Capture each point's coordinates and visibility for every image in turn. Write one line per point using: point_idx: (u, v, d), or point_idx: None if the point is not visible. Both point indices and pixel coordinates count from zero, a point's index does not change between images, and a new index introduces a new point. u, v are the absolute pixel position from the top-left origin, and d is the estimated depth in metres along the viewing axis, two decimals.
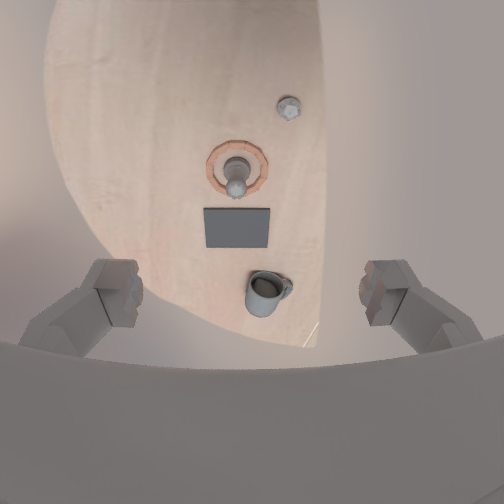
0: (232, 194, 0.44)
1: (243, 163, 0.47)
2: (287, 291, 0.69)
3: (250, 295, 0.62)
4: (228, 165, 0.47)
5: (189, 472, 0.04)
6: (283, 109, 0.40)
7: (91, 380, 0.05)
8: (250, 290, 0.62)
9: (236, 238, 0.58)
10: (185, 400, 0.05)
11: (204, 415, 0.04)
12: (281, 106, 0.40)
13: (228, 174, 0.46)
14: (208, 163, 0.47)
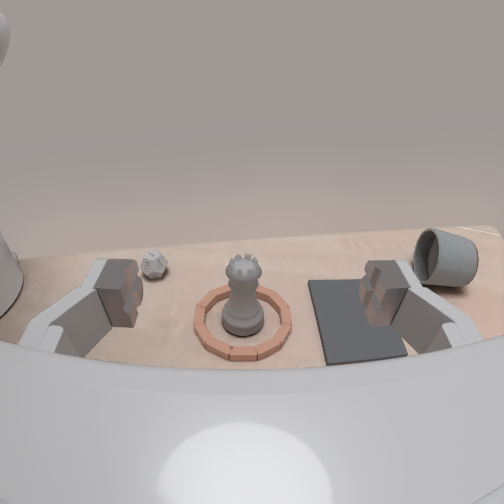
0: None
1: (226, 303, 0.31)
2: None
3: (449, 260, 0.32)
4: (228, 319, 0.29)
5: (189, 472, 0.04)
6: (149, 262, 0.35)
7: (91, 379, 0.05)
8: (441, 262, 0.32)
9: None
10: (185, 400, 0.05)
11: (204, 415, 0.04)
12: (147, 267, 0.35)
13: (238, 310, 0.28)
14: (228, 351, 0.27)
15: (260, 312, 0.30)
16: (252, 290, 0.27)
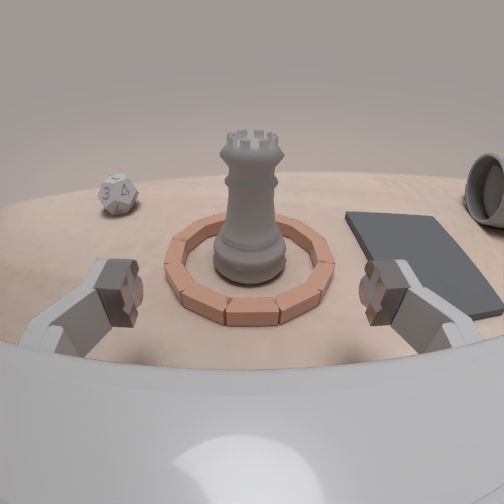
0: None
1: (221, 231, 0.19)
2: None
3: None
4: (224, 251, 0.17)
5: (189, 472, 0.04)
6: (109, 187, 0.22)
7: (91, 380, 0.05)
8: None
9: (446, 255, 0.19)
10: (185, 400, 0.05)
11: (204, 415, 0.04)
12: (106, 194, 0.22)
13: (242, 230, 0.16)
14: (223, 306, 0.14)
15: (280, 241, 0.17)
16: (268, 186, 0.15)
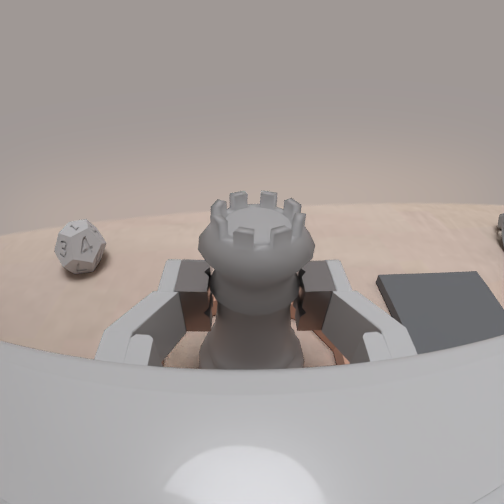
0: None
1: (209, 331, 0.12)
2: None
3: None
4: None
5: (189, 472, 0.04)
6: (66, 241, 0.16)
7: (90, 380, 0.05)
8: None
9: (496, 336, 0.13)
10: (185, 400, 0.05)
11: (204, 415, 0.04)
12: (63, 250, 0.16)
13: (240, 357, 0.10)
14: None
15: (297, 356, 0.11)
16: (284, 302, 0.08)
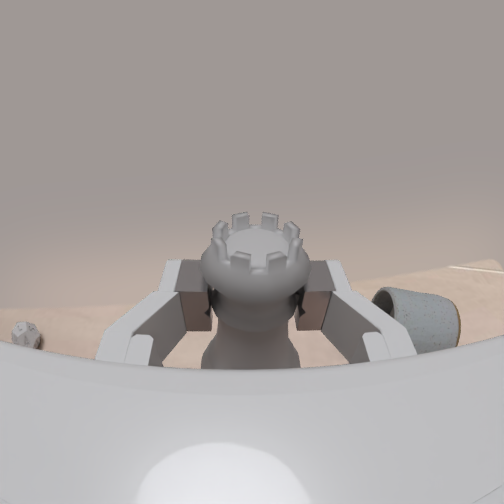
0: None
1: None
2: None
3: None
4: None
5: (189, 472, 0.04)
6: (16, 337, 0.23)
7: (90, 380, 0.05)
8: None
9: None
10: (185, 400, 0.05)
11: (204, 415, 0.04)
12: (16, 342, 0.23)
13: (237, 368, 0.10)
14: None
15: None
16: (280, 321, 0.09)
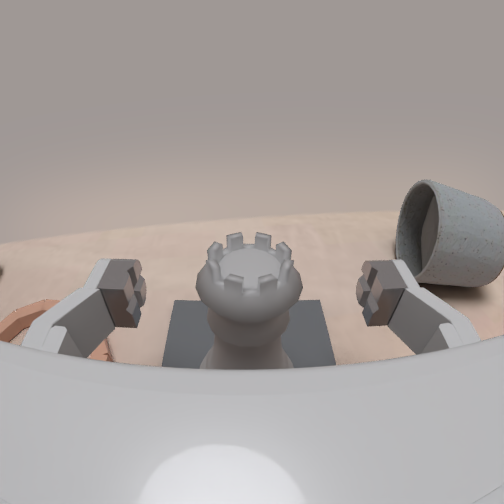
0: None
1: (210, 350, 0.13)
2: None
3: (460, 235, 0.16)
4: None
5: (189, 472, 0.04)
6: None
7: (90, 380, 0.05)
8: (445, 239, 0.16)
9: None
10: (185, 400, 0.05)
11: (204, 415, 0.04)
12: None
13: None
14: None
15: None
16: (272, 337, 0.09)
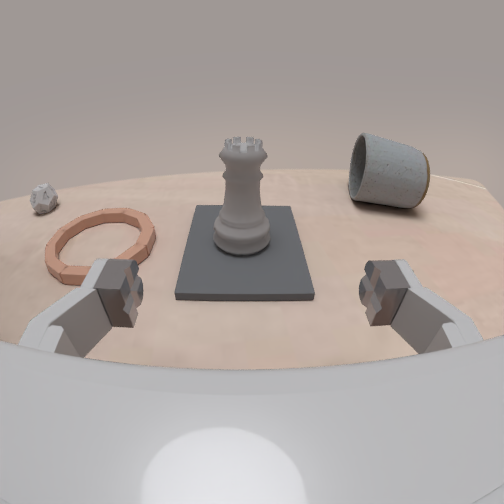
0: None
1: None
2: None
3: (382, 162, 0.27)
4: (220, 228, 0.22)
5: (189, 472, 0.04)
6: (35, 193, 0.27)
7: (91, 379, 0.05)
8: (371, 164, 0.27)
9: (270, 241, 0.24)
10: (185, 400, 0.05)
11: (204, 415, 0.04)
12: (34, 199, 0.27)
13: (234, 212, 0.21)
14: (60, 270, 0.19)
15: (265, 223, 0.22)
16: (254, 179, 0.20)
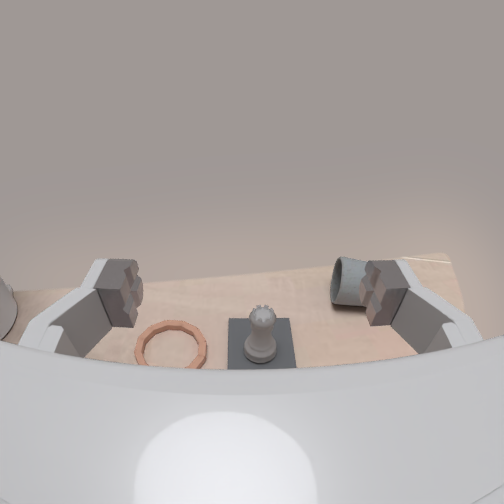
0: (268, 318, 0.35)
1: (247, 337, 0.39)
2: None
3: (351, 286, 0.43)
4: (249, 350, 0.37)
5: (189, 472, 0.04)
6: None
7: (90, 379, 0.05)
8: (343, 287, 0.43)
9: None
10: (185, 400, 0.05)
11: (204, 415, 0.04)
12: None
13: (257, 345, 0.37)
14: None
15: (274, 346, 0.38)
16: (268, 332, 0.35)
